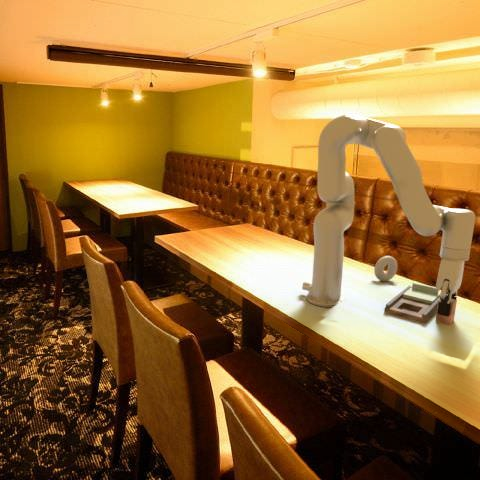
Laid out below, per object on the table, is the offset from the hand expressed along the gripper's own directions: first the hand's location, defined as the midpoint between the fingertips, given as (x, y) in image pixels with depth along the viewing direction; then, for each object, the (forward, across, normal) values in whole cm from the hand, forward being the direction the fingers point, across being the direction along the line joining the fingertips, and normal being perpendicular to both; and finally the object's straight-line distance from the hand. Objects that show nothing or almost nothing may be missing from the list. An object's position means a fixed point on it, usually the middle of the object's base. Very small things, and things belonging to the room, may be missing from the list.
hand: (446, 311), depth 128 cm
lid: (+1, -10, -10) cm, 14 cm away
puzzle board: (+4, -5, -10) cm, 12 cm away
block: (+4, 0, 0) cm, 4 cm away
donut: (+5, -26, -28) cm, 38 cm away
